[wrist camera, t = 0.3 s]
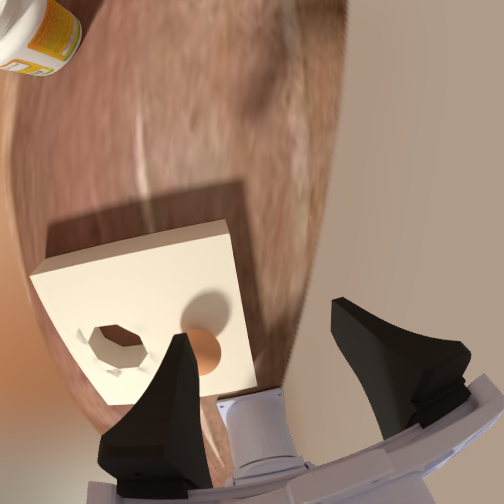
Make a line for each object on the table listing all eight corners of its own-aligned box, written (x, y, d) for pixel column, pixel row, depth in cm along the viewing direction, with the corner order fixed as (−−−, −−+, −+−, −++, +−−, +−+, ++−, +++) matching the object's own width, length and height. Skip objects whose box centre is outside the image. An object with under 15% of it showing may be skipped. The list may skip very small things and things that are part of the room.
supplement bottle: (72, 3, 11) (15, -45, 2) (93, 46, 13) (28, 3, 5) (20, 46, 11) (-54, 26, 3) (37, 90, 14) (-46, 84, 5)
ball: (222, 348, 22) (228, 381, 19) (181, 355, 22) (181, 388, 19) (214, 315, 21) (218, 348, 18) (168, 323, 20) (165, 356, 17)
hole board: (251, 364, 28) (257, 386, 25) (112, 384, 26) (108, 404, 24) (224, 218, 21) (229, 233, 18) (44, 259, 19) (29, 276, 17)
